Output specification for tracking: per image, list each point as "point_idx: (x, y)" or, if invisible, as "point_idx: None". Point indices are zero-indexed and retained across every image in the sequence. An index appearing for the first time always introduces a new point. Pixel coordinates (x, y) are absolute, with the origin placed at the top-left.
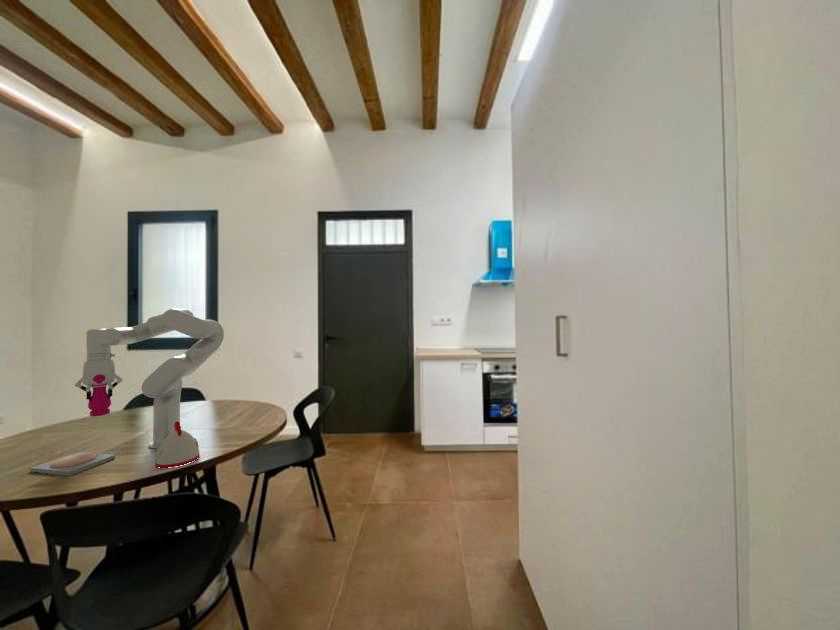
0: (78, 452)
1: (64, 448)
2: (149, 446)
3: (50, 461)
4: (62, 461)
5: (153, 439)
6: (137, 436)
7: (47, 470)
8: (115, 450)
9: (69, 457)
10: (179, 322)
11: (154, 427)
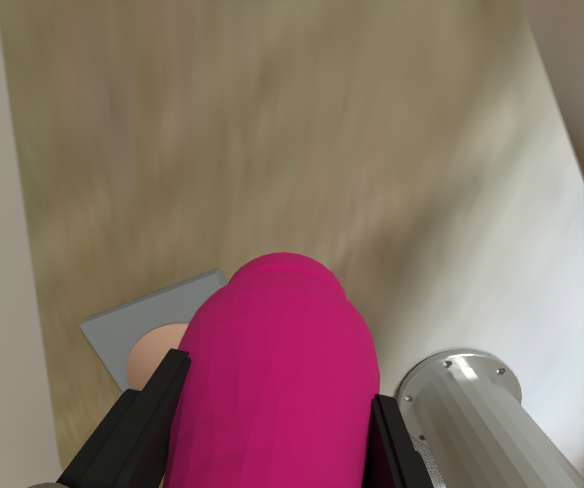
0: (211, 280)
1: (191, 79)
2: (398, 400)
3: (129, 309)
4: (155, 366)
5: (422, 415)
6: (454, 183)
7: (123, 387)
8: None
9: (176, 340)
10: None
11: (444, 476)
